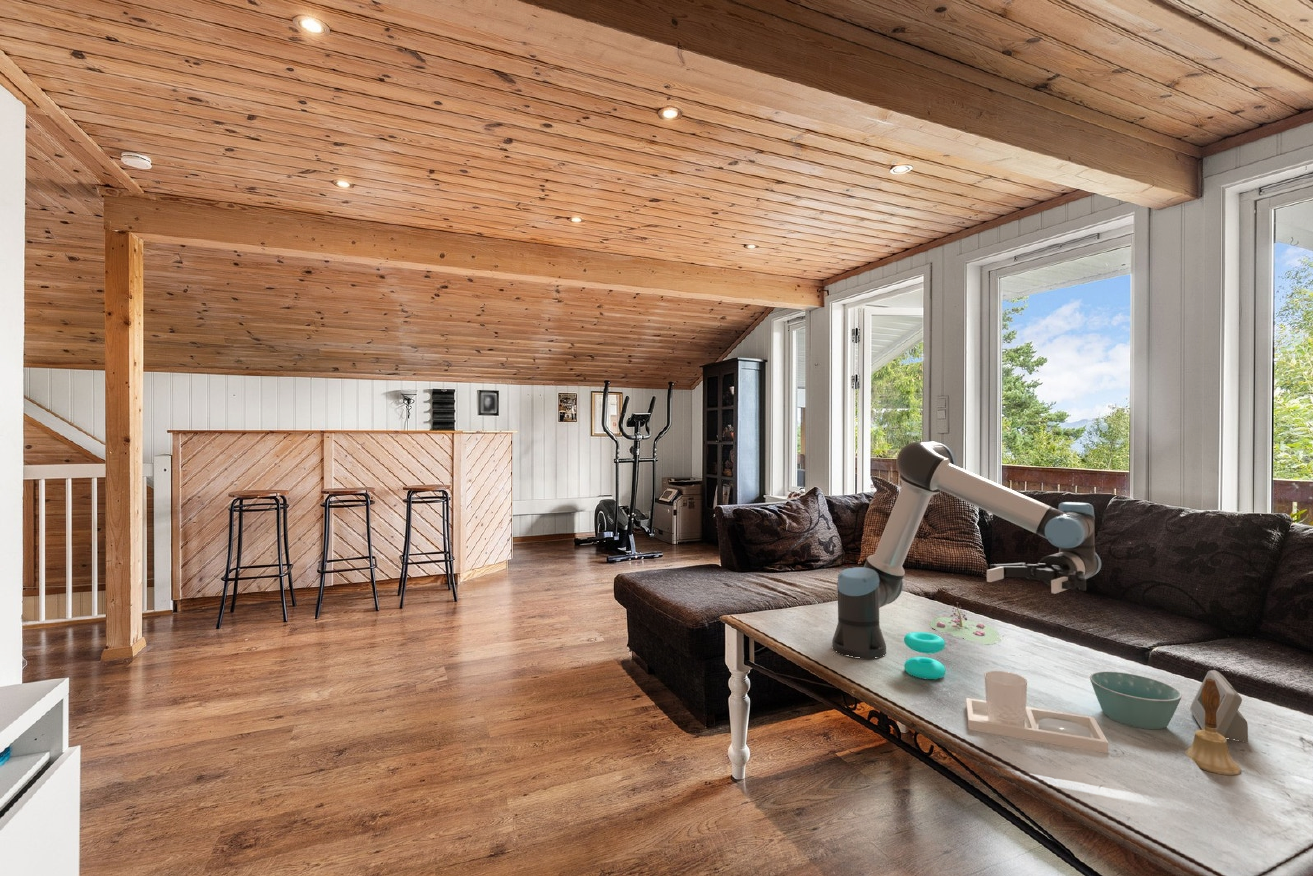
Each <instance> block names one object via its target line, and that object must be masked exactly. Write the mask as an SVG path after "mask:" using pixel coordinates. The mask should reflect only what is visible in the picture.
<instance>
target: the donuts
mask: <svg viewBox="0 0 1313 876" xmlns="http://www.w3.org/2000/svg"><path fill="white" fill-rule="evenodd" d="M903 642H904V644H905V645H906V647H907V648H909V649H910V650H912V651H914V652H917V653H922V654H937V653H939V652H942V651H944V649H945V647H946V642H945V640H944V638H942V637H941V636H939V635H938V634H935V633H931V632H924V631H912V632H909V633H907V634H905V636H904V638H903ZM904 670H905V671H906V673H908V674H909V675H910V674H911V675H910V676H912V675H913V676H912V677H914V676H915V677H914V678H917V677H919V678H918V679H921V678H926V679H925V680H928V679H934V680H939V679H938V678H940V679H941V678H944V677H945V675H946V672H947V670H946V667H945V666H944V664H943V663H941V662H940V661H939V660H936V659H934V658H931V657H927V656H914V657H910V658H908V659H907V660H905V663H904Z"/></svg>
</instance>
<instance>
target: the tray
mask: <svg viewBox="0 0 1313 876" xmlns="http://www.w3.org/2000/svg"><path fill="white" fill-rule="evenodd" d="M965 701H966V705H965V707H966V715H967V716H966V718H967V725H968V730H969V731H972V732H973V731H974V732H981V733H985V734H986V733H987V734H992V735H998V736H1003V737H1009V738H1015V739H1016V738H1017V739H1022V740H1026V741H1027V740H1029V741H1033V742H1034V741H1035V742H1040V743H1046V744H1051V745H1057V746H1061V747H1062V746H1063V747H1067V748H1068V747H1069V748H1076V749H1081V750H1085V751H1093V752H1100V753H1105V754H1109V753H1110V752H1109V741H1108V740H1107V738H1106V736H1105V734H1104V732H1103V730H1102V729H1101V727H1100V726H1099V724H1098V722H1097V720H1096V718H1095V716H1090V715H1084V714H1076V713H1070V712H1064V711H1063V712H1062V711H1057V710H1056V711H1055V710H1051V709H1050V710H1049V709H1043V708H1038V707H1037V708H1035V707H1028V706H1026V715H1025V727H1022V726H1015V725H1009V724H1003V723H997V722H991V721H988V713H987V705H986V700H983V699H977V698H969V697H966V698H965ZM1045 718H1057V719H1063V720H1068V721H1071V722H1074V723H1077V724H1080V725H1082V726H1083V727H1085V728H1087V729H1088V730H1089V731H1090V733H1091V738H1090V737H1084V736H1077V735H1071V734H1065V733H1059V732H1053V731H1046V730H1040V729H1038V722H1039V721H1040V720H1041V719H1045Z"/></svg>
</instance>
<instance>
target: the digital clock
mask: <svg viewBox="0 0 1313 876" xmlns="http://www.w3.org/2000/svg"><path fill="white" fill-rule="evenodd" d="M1206 679H1213V680H1215V683H1216V686H1217V688H1218V691H1219V694H1220V703H1219V707H1218V710H1217V713H1216V722H1217V733H1219V734H1220V735H1222V736H1224V737H1225V738H1229V739H1235V740H1239V741H1238V742H1240V741H1244V742H1243V743H1245V742H1247V743H1248V742H1249V732H1248V730H1249V726H1248V725H1249V724H1248V722H1247V719H1246V718H1245V716H1243V715H1242V713H1241V712H1240V711H1239V708H1240V706H1241V704H1242V701H1243V699H1242V697H1241V695H1240V694H1239V693H1238V691H1236V690H1235V688H1234V687H1233V686H1232V684H1231V683H1230V682H1229V681H1228V680H1227V678H1226V677H1225V676H1224V675H1223V674H1222V673H1221V672H1219V671H1217V670H1216V669H1213V670H1208V671H1207V672H1206V675H1205V676H1204V679H1203V681H1202V683H1201V685H1200V687H1199V688H1198V691H1197V693H1196V695H1195V697H1194V699H1193V701H1192V702H1191V704H1190V707H1189V710H1190V712H1191V714H1192V716H1193V717H1194V719H1195V720H1196V722H1197V724H1198V725H1199V727H1200V730H1203V729H1204V728H1205V708H1204V706H1203V703H1202V696H1201V693H1202V688H1203V686H1204V684H1205V681H1206ZM1229 739H1228V740H1229Z"/></svg>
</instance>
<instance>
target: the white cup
mask: <svg viewBox="0 0 1313 876" xmlns="http://www.w3.org/2000/svg"><path fill="white" fill-rule="evenodd" d="M984 687H985V688H984V689H985V701H986V705H987V713H988V721H991V722H997V723H1003V724H1009V725H1015V726H1022V727H1025V715H1026V707H1027V695H1028V694H1027V692H1028V680H1027V679H1026V678H1025V677H1023V676H1022V675H1019V674H1017V673H1013V672H1009V671H1003V670H990V671H986V672H985V673H984Z"/></svg>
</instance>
